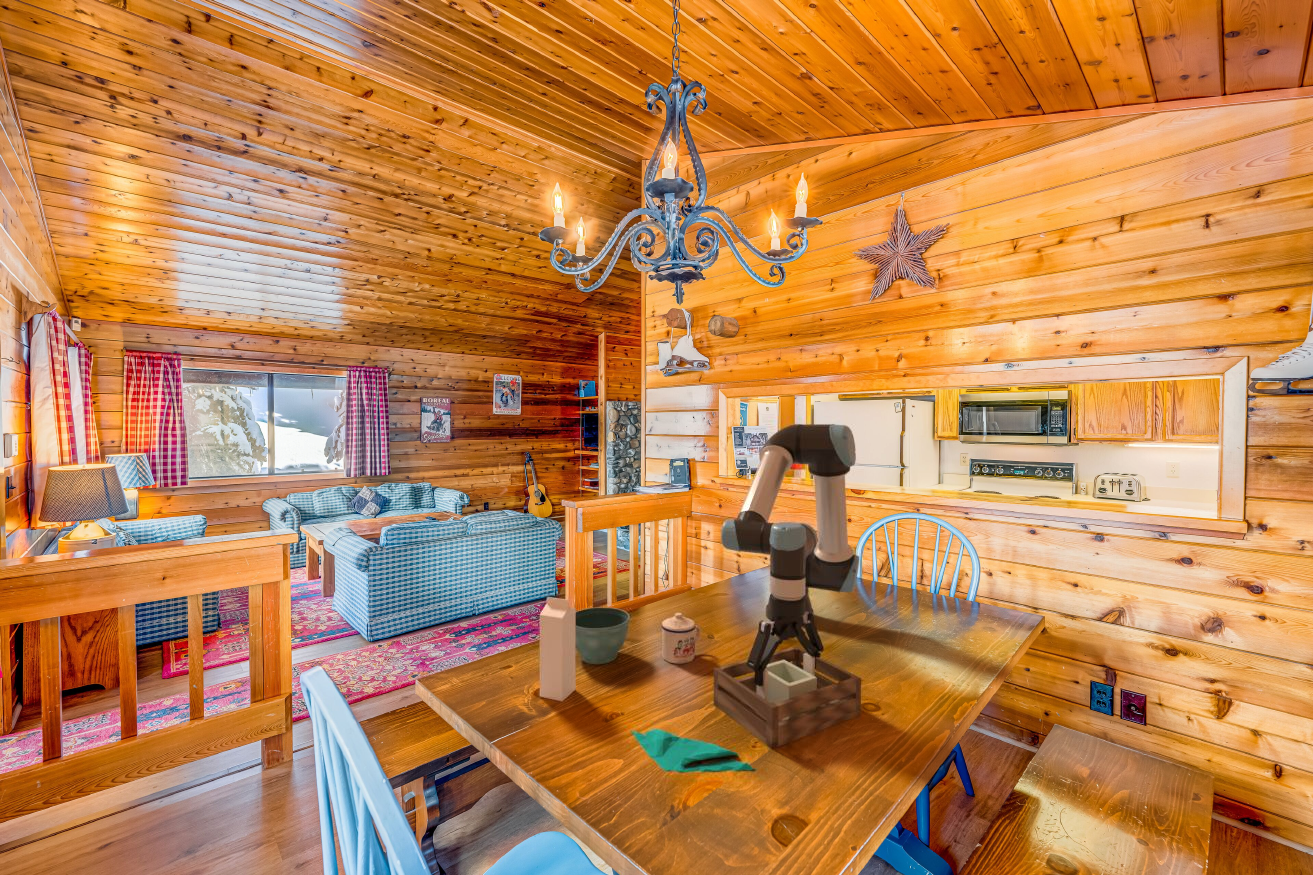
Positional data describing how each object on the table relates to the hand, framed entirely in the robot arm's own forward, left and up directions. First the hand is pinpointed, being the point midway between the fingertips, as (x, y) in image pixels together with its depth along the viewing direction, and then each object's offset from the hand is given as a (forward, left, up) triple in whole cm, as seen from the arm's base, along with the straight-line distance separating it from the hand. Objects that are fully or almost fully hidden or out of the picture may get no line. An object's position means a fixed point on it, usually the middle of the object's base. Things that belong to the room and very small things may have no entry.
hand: (786, 691), depth 118 cm
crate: (0, 0, -4) cm, 4 cm away
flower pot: (+25, -44, -4) cm, 51 cm away
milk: (+41, -31, -4) cm, 52 cm away
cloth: (+28, +2, -5) cm, 28 cm away
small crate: (0, 0, -3) cm, 3 cm away
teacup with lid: (+5, -34, -4) cm, 35 cm away
